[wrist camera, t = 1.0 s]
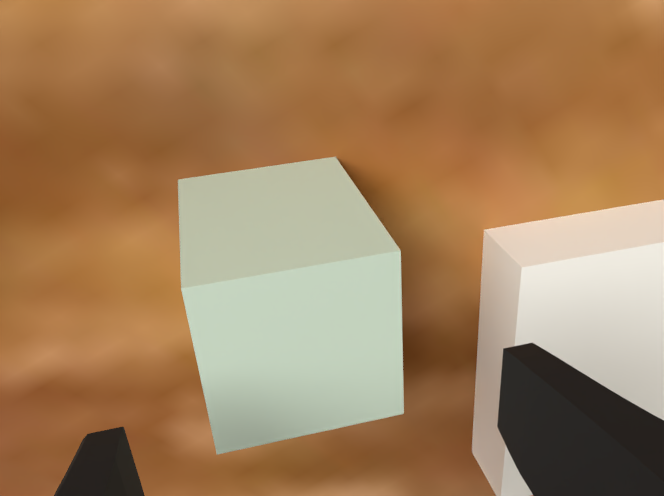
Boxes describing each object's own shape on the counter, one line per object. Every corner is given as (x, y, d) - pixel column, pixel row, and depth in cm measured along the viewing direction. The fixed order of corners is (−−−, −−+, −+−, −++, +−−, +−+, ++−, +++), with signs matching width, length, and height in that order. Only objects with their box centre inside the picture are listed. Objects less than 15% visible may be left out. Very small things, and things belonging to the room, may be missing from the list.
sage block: (344, 287, 20) (403, 413, 15) (204, 313, 20) (217, 454, 14) (335, 156, 18) (400, 250, 13) (178, 179, 18) (181, 288, 12)
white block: (683, 395, 27) (737, 445, 25) (467, 443, 26) (500, 502, 23) (739, 181, 23) (813, 215, 20) (478, 224, 21) (521, 267, 18)
